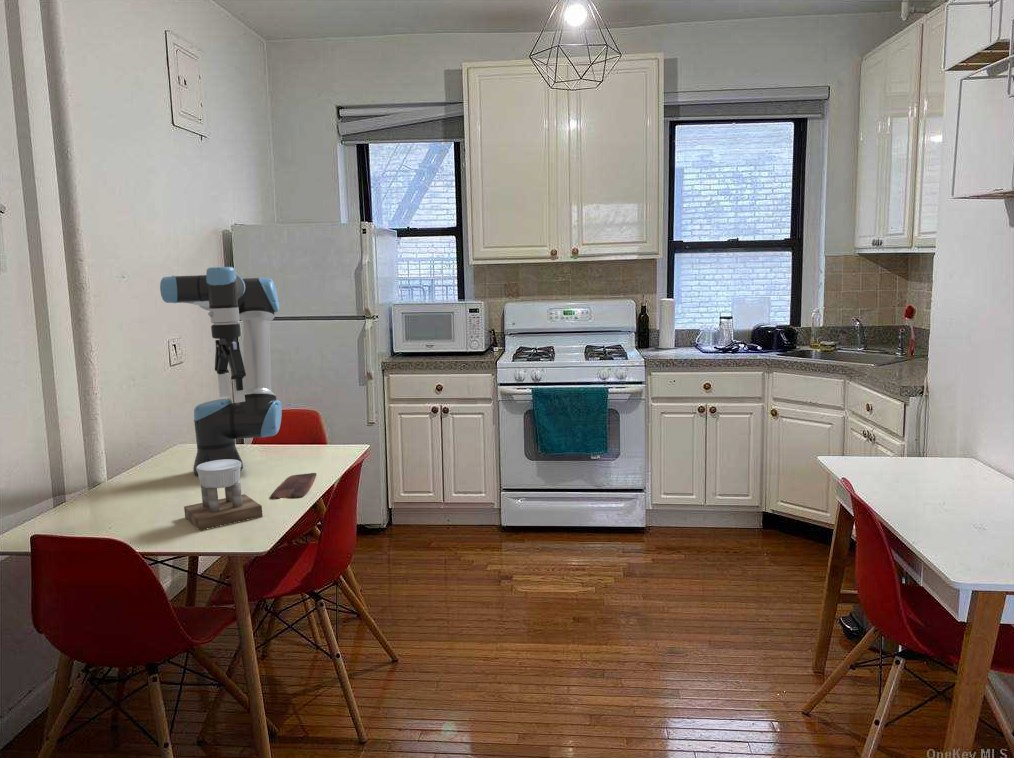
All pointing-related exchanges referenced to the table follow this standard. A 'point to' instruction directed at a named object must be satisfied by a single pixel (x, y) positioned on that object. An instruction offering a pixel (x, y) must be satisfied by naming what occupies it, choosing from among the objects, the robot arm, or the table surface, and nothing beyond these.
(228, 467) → the ramekin
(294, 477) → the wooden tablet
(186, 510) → the peg stand
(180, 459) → the table surface
